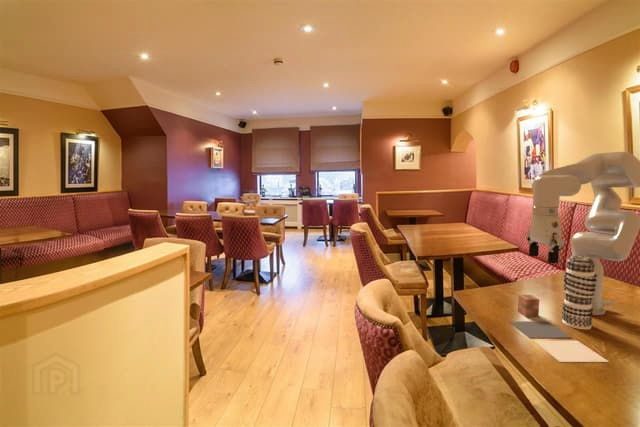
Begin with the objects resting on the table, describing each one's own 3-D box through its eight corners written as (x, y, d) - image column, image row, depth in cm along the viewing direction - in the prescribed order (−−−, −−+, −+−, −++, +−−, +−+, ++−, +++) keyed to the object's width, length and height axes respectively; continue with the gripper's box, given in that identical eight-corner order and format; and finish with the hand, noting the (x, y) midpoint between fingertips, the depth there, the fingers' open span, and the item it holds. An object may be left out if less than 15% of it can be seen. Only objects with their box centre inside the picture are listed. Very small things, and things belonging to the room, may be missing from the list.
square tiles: (547, 321, 118) (547, 321, 118) (609, 362, 92) (609, 361, 92) (509, 322, 118) (509, 321, 118) (559, 362, 92) (559, 361, 92)
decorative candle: (595, 332, 109) (601, 262, 106) (562, 326, 114) (566, 258, 111) (590, 322, 117) (595, 256, 114) (559, 316, 122) (563, 253, 119)
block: (530, 311, 127) (531, 294, 126) (538, 316, 122) (539, 299, 121) (517, 311, 127) (518, 294, 126) (525, 316, 122) (526, 299, 121)
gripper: (576, 214, 102) (572, 265, 104) (538, 208, 119) (536, 253, 121) (552, 214, 102) (550, 266, 104) (518, 209, 119) (517, 253, 121)
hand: (542, 259), depth 112 cm, fingers open, 9 cm apart
